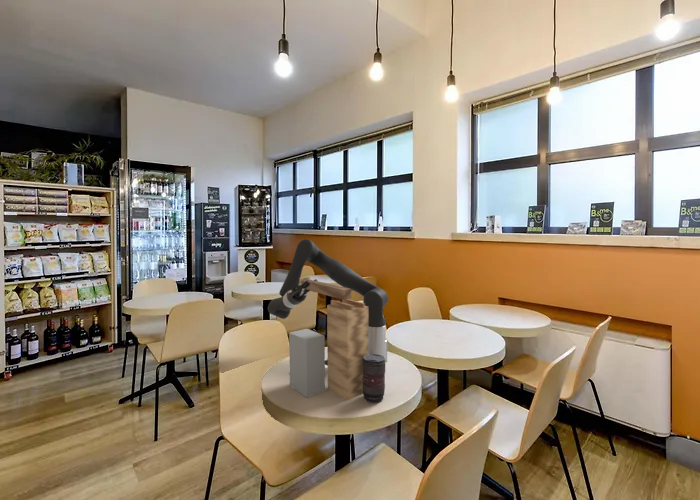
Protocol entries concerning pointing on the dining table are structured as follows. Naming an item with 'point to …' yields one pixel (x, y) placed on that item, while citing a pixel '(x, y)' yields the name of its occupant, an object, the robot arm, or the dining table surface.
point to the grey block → (307, 362)
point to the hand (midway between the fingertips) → (312, 282)
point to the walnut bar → (327, 289)
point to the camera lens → (373, 377)
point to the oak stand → (347, 346)
